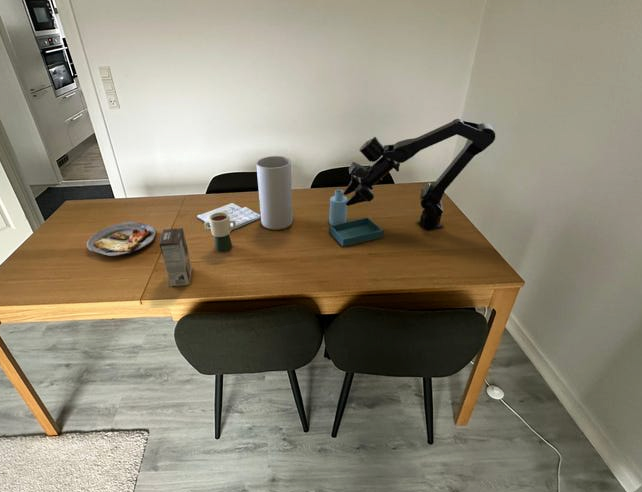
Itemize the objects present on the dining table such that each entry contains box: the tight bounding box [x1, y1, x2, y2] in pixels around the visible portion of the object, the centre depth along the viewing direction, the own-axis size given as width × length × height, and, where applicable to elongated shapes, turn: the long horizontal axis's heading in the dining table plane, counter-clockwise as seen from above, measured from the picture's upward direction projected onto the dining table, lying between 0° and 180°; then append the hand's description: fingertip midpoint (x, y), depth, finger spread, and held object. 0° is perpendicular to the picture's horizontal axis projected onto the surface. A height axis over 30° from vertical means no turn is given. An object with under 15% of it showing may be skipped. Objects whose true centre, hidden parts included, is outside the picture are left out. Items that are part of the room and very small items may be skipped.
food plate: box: [86, 221, 158, 257], centre depth 144 cm, size 25×23×4 cm
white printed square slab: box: [197, 202, 261, 231], centre depth 155 cm, size 19×20×2 cm
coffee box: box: [158, 227, 193, 287], centre depth 119 cm, size 9×6×16 cm
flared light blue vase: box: [328, 189, 348, 225], centre depth 144 cm, size 6×6×13 cm
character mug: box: [204, 212, 237, 252], centre depth 133 cm, size 11×7×13 cm, turn 90°
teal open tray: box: [328, 216, 384, 248], centre depth 138 cm, size 16×11×3 cm
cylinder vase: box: [255, 155, 294, 231], centre depth 143 cm, size 12×12×25 cm
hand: (345, 199), depth 142 cm, fingers open, 9 cm apart
